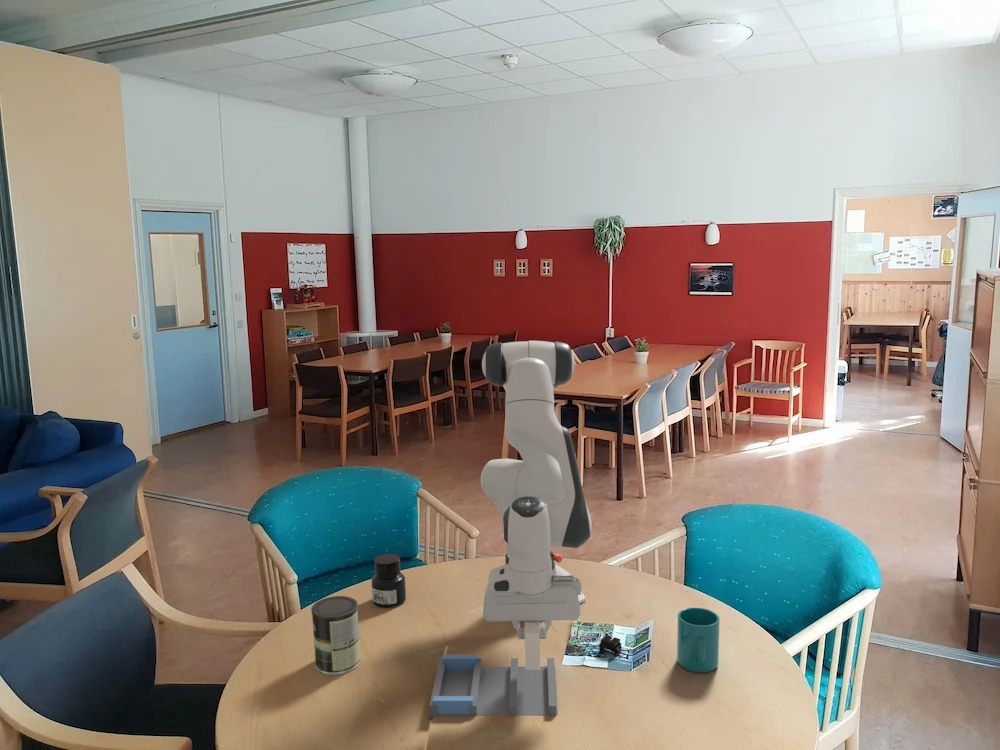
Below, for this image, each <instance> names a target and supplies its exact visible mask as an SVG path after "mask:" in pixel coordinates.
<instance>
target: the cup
mask: <svg viewBox="0 0 1000 750" xmlns="http://www.w3.org/2000/svg"><path fill="white" fill-rule="evenodd" d="M720 620H721V619H720V616H719V615H718V614H717V613H716V612H714V611H713V610H710V609H707V608H703V607H688V608H684V609H681V610H680V611H679V612H678V613H677V632H676V633H677V635H676V636H677V638H676V639H677V640H676V641H677V642H676V644H677V645H676V660H677V663H678V664H679V665H680V667H681V668H684V669H685V670H687V671H689V672H693V673H700V674H703V673H709V672H712V671H714V670H715V669H716V668H717V667H718V665H719V654H720V653H719V651H720V649H719V648H720V623H721V622H720Z"/></svg>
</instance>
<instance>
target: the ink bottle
mask: <svg viewBox="0 0 1000 750" xmlns="http://www.w3.org/2000/svg"><path fill="white" fill-rule="evenodd" d="M401 568H402V567H401V557H400V556H399V555H398V554H394V553H387V554H380V555H378V556H376V557H375V558H374V573H375V574H374V575H373V576H372V578H371V599H372V603H373V604H374V605H375V606H377V607H379V608H384V609H385V608H386V609H389V608H394V607H397V606H400V605H402V604H404V603H405V602H406V599H407V595H406V594H407V593H406V591H407V590H406V577H405V575H404V574H403V573H402V572H401V570H402V569H401Z"/></svg>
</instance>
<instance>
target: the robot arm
mask: <svg viewBox="0 0 1000 750" xmlns="http://www.w3.org/2000/svg"><path fill="white" fill-rule="evenodd" d="M571 348H572V347H571V346H570V345H569V344H568V343H565V342H561V341H557V340H556V341H554V342H553V341H552V342H551V341H544V340H528V341H525V340H524V341H523V340H522V341H511V342H510V341H509V342H504V343H502V342H501V341H500V342H495V343H491V344H489V345H488V346H487V347H486V348H485V351H484V352H483V353H484V354H483V355H482V359H481V369H482V373H483V375H484V377H485V380H486V381H487V382H488V383H489V384H490V385H492V386H495V387H496V386H497V387H500V388H502V387H503V386H506V388H505V400H504V403H505V405H504V406H505V407H504V410H505V411H504V412H505V413H504V414H505V418H504V422H505V423H504V424H505V425H504V426H505V428H504V433H505V434H504V435H505V438H506V441H507V442H508V443H509V444H510V446H512V447H513V448H515V449H516V450H517V451H518V453H519V455H520V456H521V458H522V460H521V459H520V460H519V459H513V458H497V459H496V458H495V459H491V460H489V461H488V462H487V463H486V464H485V465H484V467H483V469H482V470H481V474H480V485H481V489H482V490H483V493H484V494H485V495H487V496H488V497H489V499H491V500H492V502H493V503H494V504H495V506H496V507H497V509H498V511H499V513H500V515H501V518H502V522H503V524H502V525H503V540H504V542H506V553H505V561H504V562H505V564H504V565H500V566H497V567H495V568H494V567H493V568H492V569H490V571H489V574H488V577H487V585H486V587H485V592H484V596H483V597H484V598H483V606H482V607H483V609H482V610H483V611H482V616H483V618H484V620H486V621H487V622H512V626H513V628H514V629H515V631H516V632H517V637H518V640H525V627H521V625H520V622H525V621H539V622H540V621H544V625H543V627H539V634H540V640H543V639H545V640H546V639H547V632H548V631H549V629H550V627H551V626H552V621H577V620H579V618H580V617H581V604H583V603H585V602H586V596H585V594H584V592H583V591H582V582H581V580H580V579H579V578H577V577H575V576H574V575H572V574H570V572H568V571H567V570H566V569H563V568H562V567H561V566H559V565H557V564H556V563H555V562H557V563H558V564H559V563H561V562H562V561H563V559H564V558H563V556H562V554H559V553H557V552H556V553H554V552H553V551H551V550H550V548H551V547H562V548H573V549H579V547H580V548H581V546H583V545H584V544H585V543H586V542H587V541H589V539H590V538H591V534H592V527H593V525H592V518H591V514H590V510H589V508H588V505H587V502H586V500H585V495H584V491H583V484H582V479H581V475H580V470H579V466H578V465H579V464H578V461H577V455H576V451H575V447H574V444H573V440H572V437H571V434H570V432H569V429H568V428H566V427H565V426H563V425H561V423H560V422H559V420H558V418H557V416H556V415H557V414H556V411H555V394H554V389H556V388H557V387H558V386H559V387H560V386H562V385H565V384H567V383H568V382H569V381H570V380H571V379H572V376H573V373H574V370H575V365H576V364H575V363H576V362H575V356H574V353H573V351H572V349H571Z"/></svg>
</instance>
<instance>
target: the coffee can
mask: <svg viewBox="0 0 1000 750" xmlns="http://www.w3.org/2000/svg"><path fill="white" fill-rule="evenodd" d="M358 605H359V604H358V601H357V600H356V599H355V598H353V597H350V596H346V595H345V596H344V595H336V596H329V597H325V598H323V599H319V600H318V601H316V602H315V603H314V604H312V606H311V610H310V612H311V616H312V617H311V618H312V629H313V632H312V634H313V644H314V645H313V646H314V657H315V658H314V661H315V662H314V663H315V664H314V665H315V669H316V671H318V673H321V674H323V675H326V676H338V675H344V674H347V673H349V672H350V673H351V672H352V671H353V670H355V669H356V668H358V666H360V664H361V652H360V638H359V637H360V631H359V616H358V615H359V614H358V608H359V607H358Z"/></svg>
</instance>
